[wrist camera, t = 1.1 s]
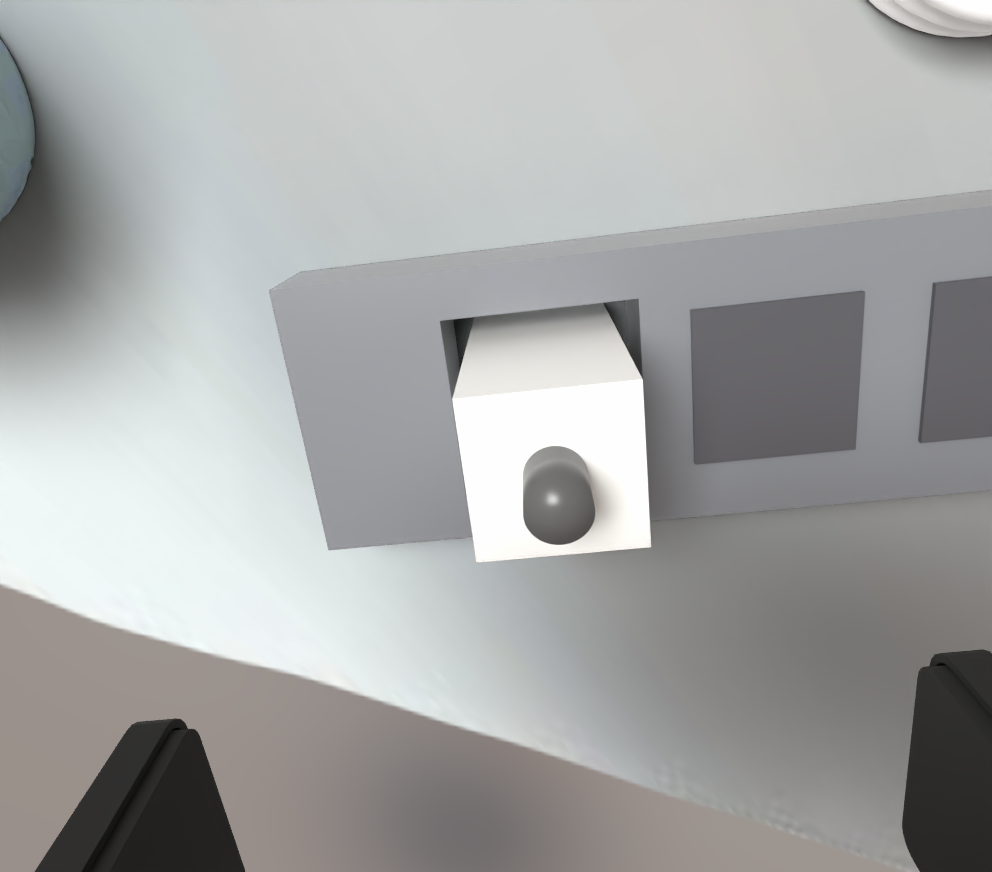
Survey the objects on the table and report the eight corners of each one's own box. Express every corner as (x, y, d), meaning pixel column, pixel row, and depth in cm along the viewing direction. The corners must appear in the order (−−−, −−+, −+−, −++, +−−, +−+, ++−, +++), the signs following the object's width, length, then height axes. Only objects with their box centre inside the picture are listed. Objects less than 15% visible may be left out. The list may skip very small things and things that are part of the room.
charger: (602, 302, 26) (657, 407, 15) (611, 423, 27) (665, 591, 17) (474, 317, 26) (444, 429, 16) (490, 435, 28) (471, 607, 17)
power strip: (1159, 169, 24) (1281, 175, 20) (1107, 432, 27) (1205, 480, 23) (300, 272, 26) (262, 293, 22) (350, 504, 29) (324, 559, 25)
